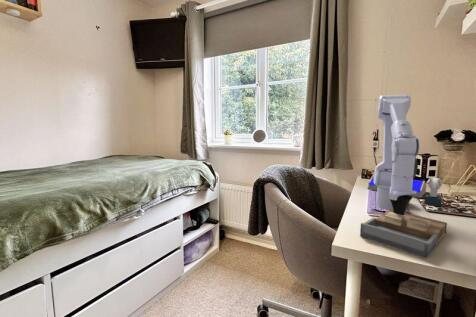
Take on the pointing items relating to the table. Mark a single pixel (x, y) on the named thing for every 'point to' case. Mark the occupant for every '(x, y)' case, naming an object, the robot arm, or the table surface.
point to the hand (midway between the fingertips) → (398, 217)
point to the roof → (416, 186)
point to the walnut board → (434, 228)
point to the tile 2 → (418, 223)
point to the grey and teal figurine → (433, 192)
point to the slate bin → (398, 239)
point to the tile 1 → (394, 218)
